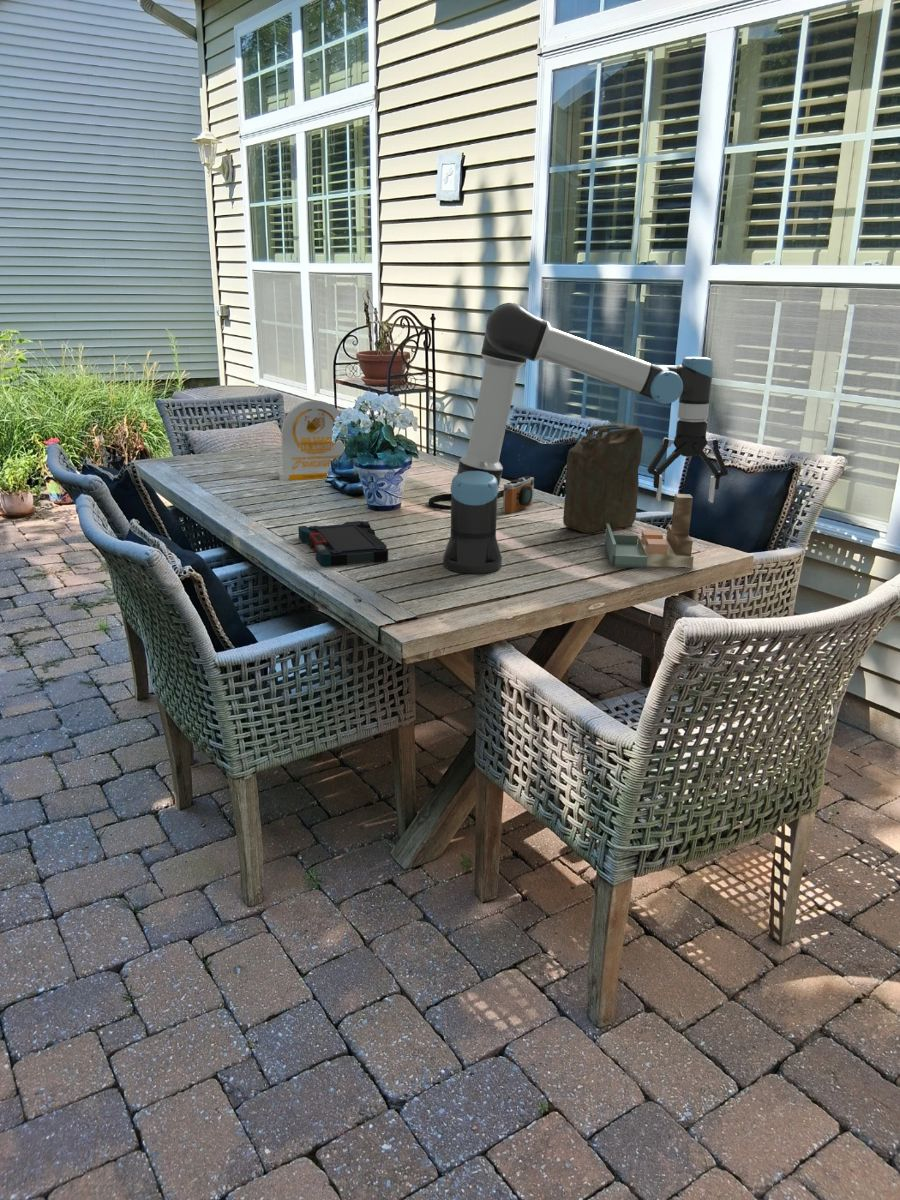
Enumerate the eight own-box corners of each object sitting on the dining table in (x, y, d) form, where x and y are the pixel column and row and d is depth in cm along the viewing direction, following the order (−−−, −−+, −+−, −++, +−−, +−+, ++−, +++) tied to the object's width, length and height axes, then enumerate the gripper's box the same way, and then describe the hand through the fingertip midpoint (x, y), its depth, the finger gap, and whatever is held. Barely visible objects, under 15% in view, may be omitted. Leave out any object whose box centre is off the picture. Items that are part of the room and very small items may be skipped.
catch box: (611, 566, 231) (613, 544, 229) (604, 544, 251) (606, 523, 249) (646, 567, 230) (648, 545, 228) (636, 545, 250) (638, 524, 248)
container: (615, 518, 278) (624, 422, 268) (638, 526, 270) (647, 426, 260) (559, 527, 267) (565, 427, 257) (581, 535, 259) (588, 432, 249)
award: (280, 480, 321) (276, 403, 312) (277, 475, 329) (273, 400, 319) (356, 477, 329) (355, 401, 320) (351, 472, 337) (350, 398, 328)
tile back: (643, 543, 241) (644, 534, 240) (641, 538, 246) (642, 529, 245) (662, 544, 241) (663, 535, 240) (659, 539, 245) (660, 530, 244)
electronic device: (322, 569, 226) (321, 550, 224) (296, 537, 253) (295, 520, 251) (396, 562, 232) (396, 544, 231) (363, 532, 260) (363, 515, 258)
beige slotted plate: (645, 566, 232) (646, 555, 231) (637, 546, 249) (638, 536, 248) (692, 568, 231) (693, 557, 230) (681, 548, 248) (682, 538, 247)
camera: (503, 521, 274) (504, 489, 270) (420, 507, 288) (420, 477, 285) (545, 502, 298) (546, 473, 295) (467, 490, 312) (468, 462, 309)
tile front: (647, 553, 233) (648, 543, 232) (645, 547, 237) (646, 538, 236) (667, 553, 232) (668, 544, 231) (664, 548, 237) (665, 539, 236)
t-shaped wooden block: (675, 555, 231) (681, 502, 226) (666, 538, 246) (671, 488, 241) (691, 555, 231) (697, 503, 226) (680, 539, 246) (686, 489, 241)
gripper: (738, 418, 230) (729, 498, 237) (641, 416, 231) (634, 496, 239) (745, 422, 223) (735, 505, 230) (644, 420, 224) (638, 503, 232)
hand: (684, 501), depth 234 cm, fingers open, 13 cm apart
